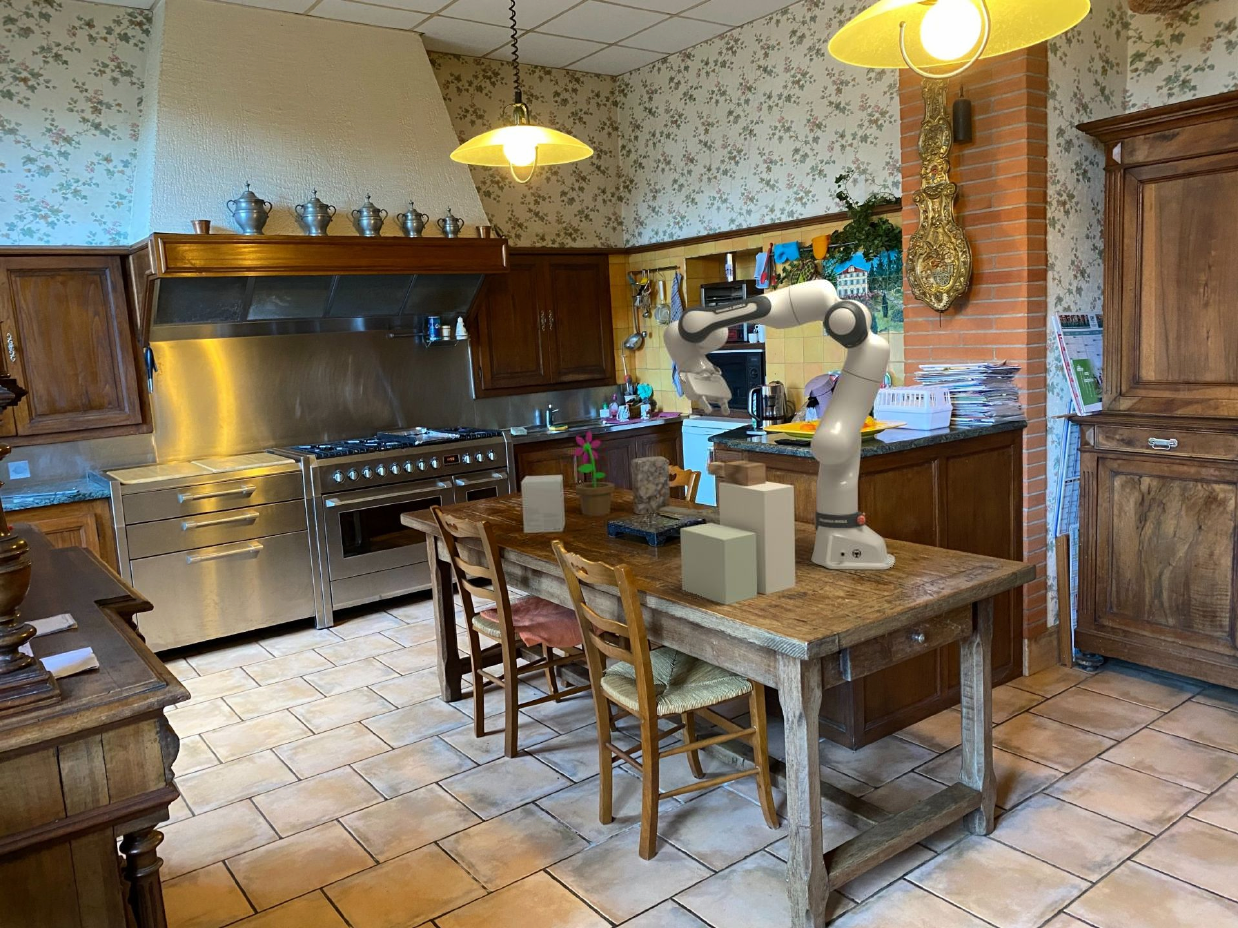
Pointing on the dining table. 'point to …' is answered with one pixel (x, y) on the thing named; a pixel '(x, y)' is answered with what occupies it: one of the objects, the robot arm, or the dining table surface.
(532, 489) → the supplement box
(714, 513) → the long grey stone
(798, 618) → the dining table surface
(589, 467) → the flowerpot
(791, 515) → the stand
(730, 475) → the mallet
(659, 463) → the stone block
